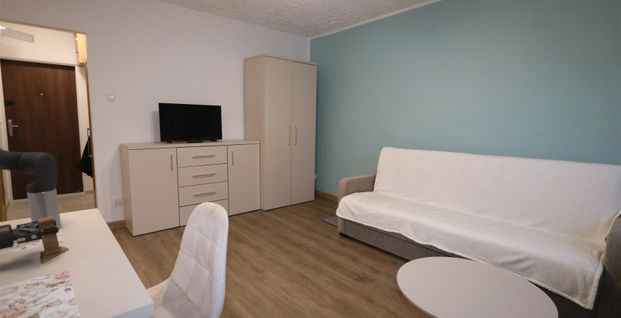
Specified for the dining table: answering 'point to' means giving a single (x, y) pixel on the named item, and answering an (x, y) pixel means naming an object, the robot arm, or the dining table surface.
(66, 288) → the dining table surface
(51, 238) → the pillar
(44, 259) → the shard
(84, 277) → the dining table surface
